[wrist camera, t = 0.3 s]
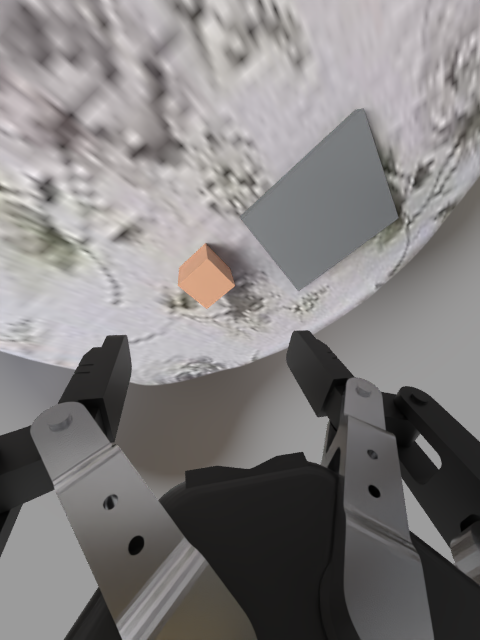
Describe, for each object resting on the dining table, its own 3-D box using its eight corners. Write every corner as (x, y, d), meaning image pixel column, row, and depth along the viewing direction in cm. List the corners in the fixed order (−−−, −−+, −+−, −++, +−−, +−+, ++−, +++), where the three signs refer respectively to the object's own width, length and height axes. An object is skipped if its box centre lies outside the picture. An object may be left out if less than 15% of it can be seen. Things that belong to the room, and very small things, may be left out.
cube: (205, 243, 31) (207, 258, 27) (230, 268, 34) (235, 285, 30) (179, 267, 32) (177, 285, 29) (205, 289, 35) (206, 308, 31)
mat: (355, 109, 25) (363, 108, 24) (391, 214, 33) (398, 217, 31) (239, 216, 30) (241, 220, 28) (295, 286, 37) (298, 291, 36)
